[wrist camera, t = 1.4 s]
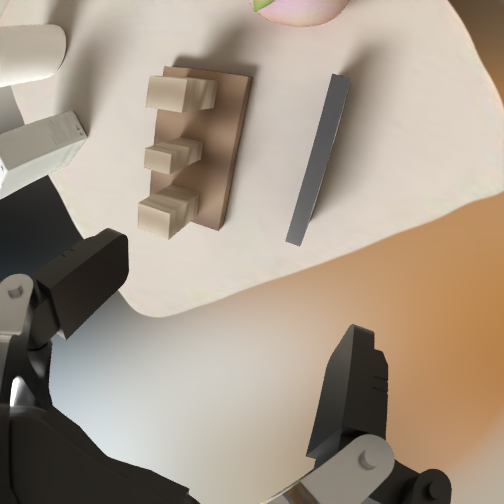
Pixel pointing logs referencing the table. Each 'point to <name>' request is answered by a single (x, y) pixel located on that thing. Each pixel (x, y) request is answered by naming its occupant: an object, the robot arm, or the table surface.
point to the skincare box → (38, 150)
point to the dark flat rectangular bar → (319, 157)
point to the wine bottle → (30, 52)
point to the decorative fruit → (299, 11)
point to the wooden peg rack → (192, 148)
